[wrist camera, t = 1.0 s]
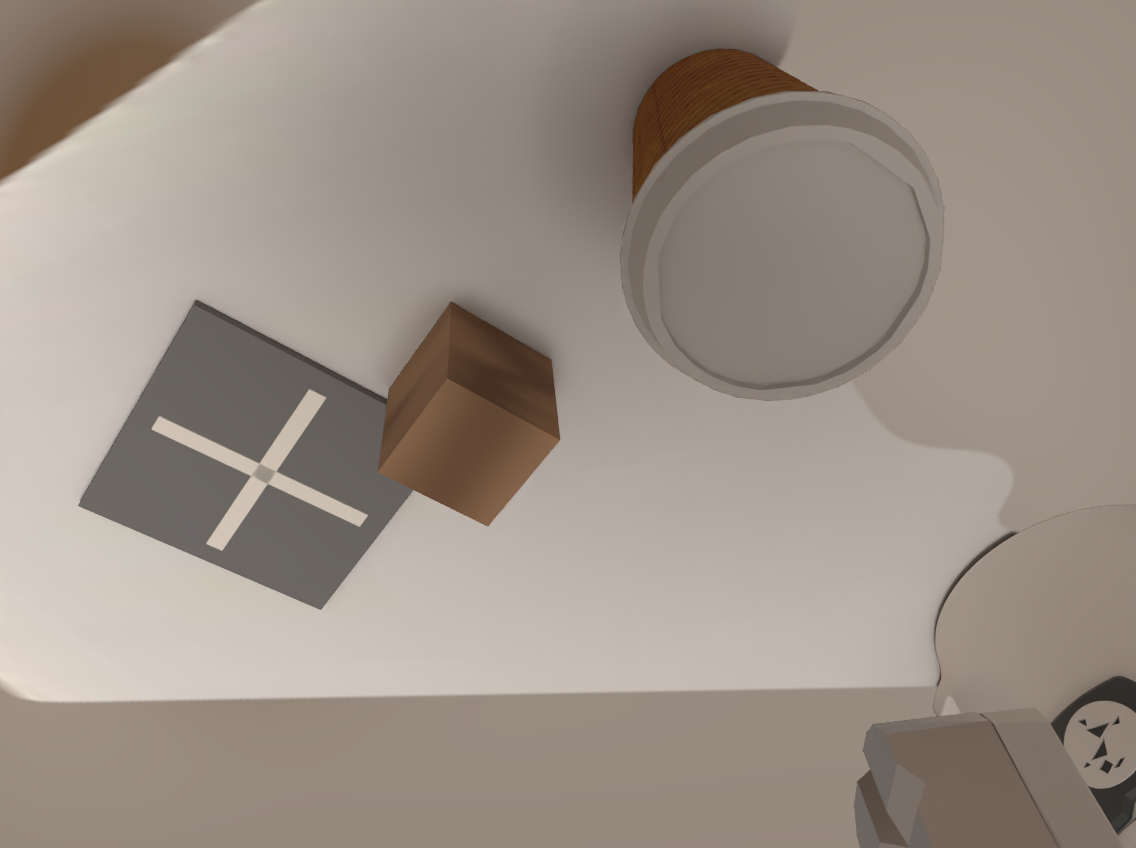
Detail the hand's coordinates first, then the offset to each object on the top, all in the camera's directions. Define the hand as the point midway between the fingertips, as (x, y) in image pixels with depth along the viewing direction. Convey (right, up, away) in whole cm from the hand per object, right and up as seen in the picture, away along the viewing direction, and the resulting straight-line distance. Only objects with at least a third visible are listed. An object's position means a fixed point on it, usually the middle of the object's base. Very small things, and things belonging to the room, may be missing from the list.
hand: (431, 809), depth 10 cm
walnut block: (-3, +6, +35) cm, 36 cm away
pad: (-12, +2, +37) cm, 39 cm away
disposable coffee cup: (+7, +15, +30) cm, 34 cm away
